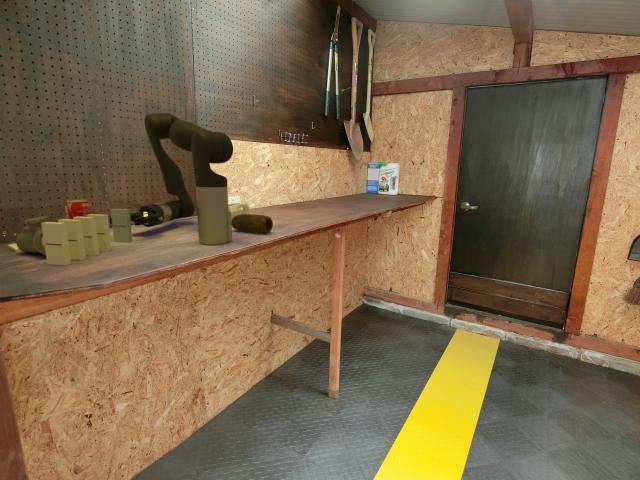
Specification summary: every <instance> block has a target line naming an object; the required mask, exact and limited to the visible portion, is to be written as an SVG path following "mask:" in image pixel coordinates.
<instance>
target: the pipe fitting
mask: <svg viewBox="0 0 640 480" xmlns="http://www.w3.org/2000/svg"><path fill="white" fill-rule="evenodd" d="M44 222H50V218H49V215H47V216H46V215H43V216H38V217H34V218H33V217H32V218H28V219H26V220H24V224H25V225H26V226H25V227H23V228H22V232H21V233H19V234H18V236H17V237H16V241H15V244H17V247H18V248H19V249H20V250H21V251H23V252H22V253H26V254H38V253H40V255H43V256H46V251H45V244H44V238H43V231H42V225H41V223H44Z"/></svg>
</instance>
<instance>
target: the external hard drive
mask: <svg viewBox="0 0 640 480" xmlns="http://www.w3.org/2000/svg"><path fill="white" fill-rule="evenodd" d="M6 247H7V249H9V250H10V251H12V252H14V253H15V254H16V253H24V252H23V251H21V250H20V249H19V248H18V247H17V244H16V243H12V244H7V245H6Z"/></svg>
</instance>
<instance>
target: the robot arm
mask: <svg viewBox="0 0 640 480" xmlns="http://www.w3.org/2000/svg"><path fill="white" fill-rule="evenodd" d="M144 129H145V131H146V135H147V137H148V141H149V143H150V146H151V148H152V150H153V151H152V152H154V153H153V154H154V155H155V158H156V161H157V163H158V166H159V168H160V172H161V175H162V178H163V179H162V180H163V182H164V186H165V187H164V188H165V191H166V193H167V194H168V195H171V196H176V197H177V198H178V199H177V200H170V201H165V202H155V203H150V204H144V205H142V206H140V207H139V209H138V210H137V211H135V210H134V211H133V212H131V211H130V222H131V224H134V226H135V227H136V226H137V227H138V226H144V227H147V228H151V227H155V226H159V225H163V224H166V223H168V222H170V221H173V220H175V219H181V218H191V217H192V216H193V215H194V214H195V208H196V212H197V229H198V231H197V232H198V233H197V235H198V243H199V244H202V245H209V246H210V245H211V246H212V245H223V244H227V243H230V242H233V227H232V218H231V211H228V206H229V191H228V190H229V189H228V186H229V185H228V178H227V176H225V175H222V174H219V173H217V172H216V171H214V170H213V169H212V168H211V167H212V166H211V164H225V163H227V162H228V161H230V159H232V156H233V155H234V154H233V153H234V146H233V142H232V140H231V138H230V137H229V136H228V135H227V134H226V133H224V132H222V131H221V132H220V131H212V130H208V129H206V128H204V127H202V126H200V125H196V124H195V123H192V122H190V121H187V120H183V119H180V118H179V117H177V116H175V114H172V113H167V112H164V113H163V112H162V113H149V114H146V115H145V116H144ZM168 139H169V140H170V141H171V143H172V144H173V145H174V146H176V147H177V148H179V149H180V150H183V151H187V152H191V157H192V165H193V175H194V180H195V190H196V191H195V193H196V206H195V203H194V201H193V200H192V198H191V196H190V194H189V192H188V190H187V188H186V184H185V181H184V177H183V176H184V175H183V173H182V170H181V168H180V167H179V166H178V164H177V163H176V162H175V161H174V159H172V158H171V156H170V155H169V154H168V153H167V152H166V151H165V149H164V147H163V145H162V142H161V140H168ZM109 225H112V216H110V217H109Z"/></svg>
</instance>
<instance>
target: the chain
mask: <svg viewBox="0 0 640 480" xmlns="http://www.w3.org/2000/svg"><path fill="white" fill-rule="evenodd" d="M228 211H231V219H233V217H234V216H236V215H241V214H250V207H249V205H248V203H243V202H242V203H235V204H233V206H231V207H230V206H229V205H228Z"/></svg>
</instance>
